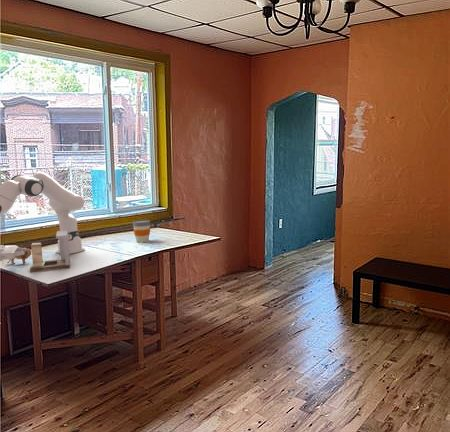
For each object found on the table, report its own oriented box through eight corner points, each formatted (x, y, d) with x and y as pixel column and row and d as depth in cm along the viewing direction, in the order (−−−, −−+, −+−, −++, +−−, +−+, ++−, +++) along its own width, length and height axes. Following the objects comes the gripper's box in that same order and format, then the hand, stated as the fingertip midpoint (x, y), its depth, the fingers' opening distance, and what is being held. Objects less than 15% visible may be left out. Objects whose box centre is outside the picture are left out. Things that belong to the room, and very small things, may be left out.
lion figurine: (33, 261, 277) (32, 247, 276) (30, 263, 272) (29, 249, 271) (8, 262, 276) (7, 248, 275) (5, 265, 271) (3, 250, 269)
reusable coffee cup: (153, 239, 335) (152, 219, 332) (148, 243, 322) (147, 222, 320) (136, 239, 336) (135, 219, 334) (131, 243, 324) (130, 222, 321)
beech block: (33, 263, 264) (31, 243, 262) (42, 262, 265) (41, 242, 264) (32, 265, 259) (31, 245, 257) (42, 264, 261) (40, 244, 259)
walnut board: (33, 265, 269) (32, 261, 269) (69, 261, 276) (69, 258, 275) (30, 272, 254) (30, 268, 254) (69, 268, 260) (69, 264, 260)
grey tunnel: (59, 259, 273) (56, 231, 271) (69, 258, 275) (67, 230, 272) (58, 265, 258) (55, 236, 256) (69, 264, 260) (66, 235, 257)
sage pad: (32, 263, 266) (32, 262, 265) (44, 262, 268) (44, 261, 268) (30, 267, 257) (30, 266, 257) (43, 265, 259) (43, 265, 259)
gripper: (-5, 251, 244) (22, 249, 249) (0, 244, 263) (26, 242, 268) (-4, 263, 245) (23, 260, 250) (1, 254, 264) (27, 252, 269)
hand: (25, 251), depth 259 cm, fingers open, 8 cm apart
